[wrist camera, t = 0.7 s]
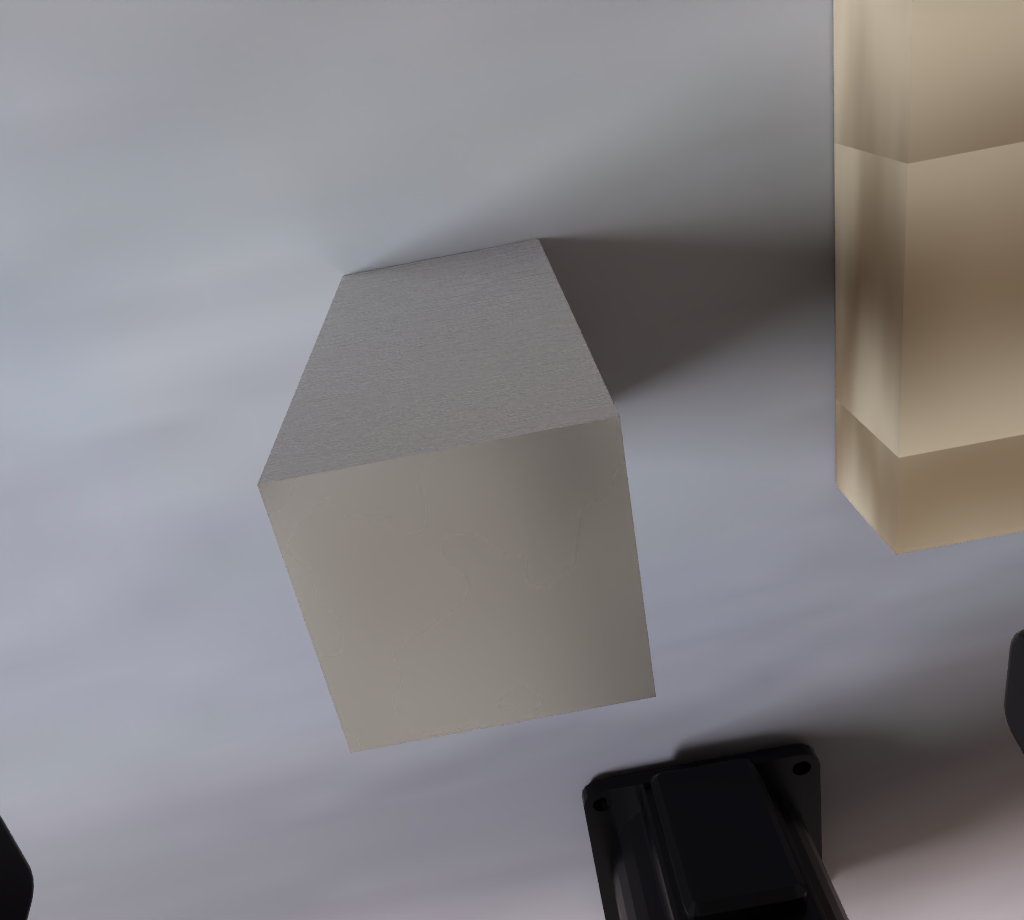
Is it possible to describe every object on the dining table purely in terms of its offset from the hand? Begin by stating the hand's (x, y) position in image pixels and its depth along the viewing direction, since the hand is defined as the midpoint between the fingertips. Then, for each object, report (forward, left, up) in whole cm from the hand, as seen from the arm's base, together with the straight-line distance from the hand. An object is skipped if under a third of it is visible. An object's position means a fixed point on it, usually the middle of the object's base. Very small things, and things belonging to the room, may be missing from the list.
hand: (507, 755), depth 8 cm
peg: (0, 0, -12) cm, 12 cm away
